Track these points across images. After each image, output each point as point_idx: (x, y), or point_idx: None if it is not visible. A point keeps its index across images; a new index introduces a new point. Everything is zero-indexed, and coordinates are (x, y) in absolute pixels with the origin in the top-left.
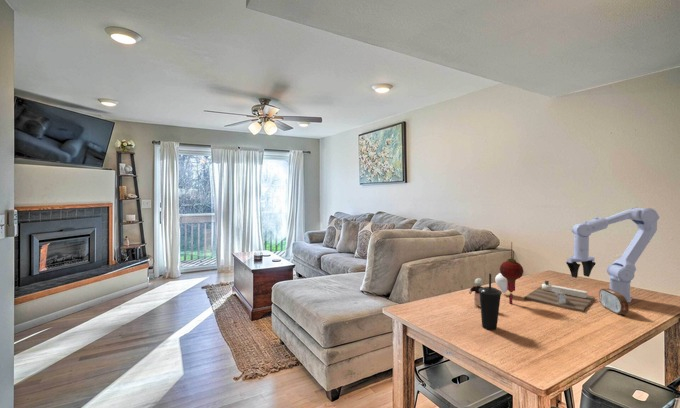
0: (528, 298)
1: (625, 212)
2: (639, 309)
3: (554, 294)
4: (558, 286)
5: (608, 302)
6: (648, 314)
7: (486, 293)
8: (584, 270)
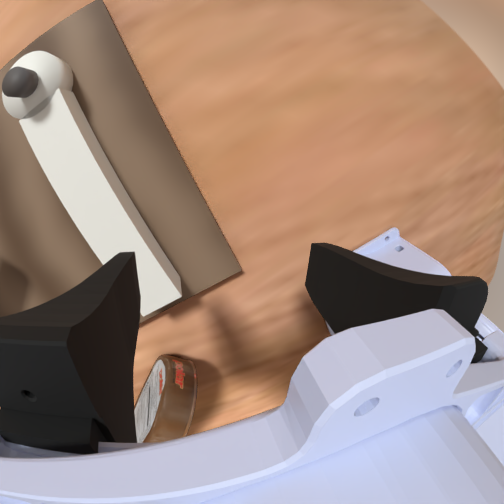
0: None
1: None
2: (273, 386)
3: (22, 185)
4: (74, 142)
5: (144, 405)
6: (244, 415)
7: None
8: (346, 273)
